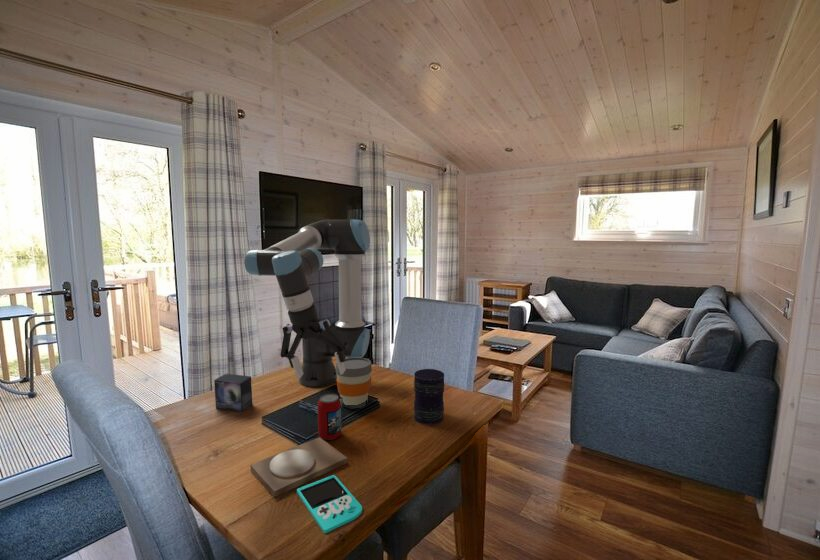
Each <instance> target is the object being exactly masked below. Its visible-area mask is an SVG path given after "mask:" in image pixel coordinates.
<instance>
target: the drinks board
mask: <svg viewBox="0 0 820 560" xmlns="http://www.w3.org/2000/svg"><path fill="white" fill-rule="evenodd" d="M347 463H348V457H347V456H346V455H345V454H343V453H341V452H340V451H339V450H338V449H336V448H335V447H333V446H332V445H331V444H330V443H328V442H327V440H324V439H322V438H320V437H319V436H318V437H317V438H315V439H314V438H313V439H311V440H309V441H306V442H304V443H301V444H299V445H296V446H294V447H291V448H289V449H286V450H285V451H284V450H283V451H281V452H279V453H276V454H274V455H271V456H268V457H266V458H264V459H262V460H258V461H256V462H254V463H251V464H250V471H251V473H252V474H253V475H255V477H256V478H257V479H258V481H260V482H261V484H262V485H263V486H264V487H265V488H266V490H267V491H268V492H269V493H270V494H271V496H273V497H274V498H276V497H278V496H282V494H285V493H287V492H290V491H291V490H293V489H296V488H297V487H299V486H302V485H304V484H305V483H306V484H307V483H308V482H310V481H312V480H314V479H316V478H318V477H321V476H323V475H325V474H326V473H329V472H331V471H333V470H335V469H338V468H340V467H341V466H344V465H346V464H347Z"/></svg>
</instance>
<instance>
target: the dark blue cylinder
mask: <svg viewBox="0 0 820 560" xmlns="http://www.w3.org/2000/svg"><path fill="white" fill-rule="evenodd" d="M413 376H414V378H413V379H414V381H413V385H414V386H413V389H414V390H413V391H414V402H413V403H414V404H413V414H414V415H413V420H414V421H415V422H416V423H418V424H420V425H423V426H435V425H439V424H441V423H442V422H443V421H444V412H445V407H444V406H445V405H444V402H445V401H444V392H445V373H444V372H443V371H442V370H439V369H435V368H423V369H419V370H416V371H415V372H414V375H413Z"/></svg>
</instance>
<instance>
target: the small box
mask: <svg viewBox="0 0 820 560" xmlns="http://www.w3.org/2000/svg"><path fill="white" fill-rule="evenodd" d="M213 380H214V397H215V398H214V399H215V409H218V410H226V411H233V412H239V413H243V412H244V411H246V410H247V409H249V408H250V407H251V406H253V390H252V376H249V375H240V374H233V373H224V374H223V375H220V376H219V377H217V378H216V379H213Z"/></svg>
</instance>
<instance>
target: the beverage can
mask: <svg viewBox="0 0 820 560" xmlns="http://www.w3.org/2000/svg"><path fill="white" fill-rule="evenodd" d="M317 433H318V438H319V437H320V438H322V439H323V440H324V441H332V440H335V439H337V438H338V437H340V435H342V405H341V399H340V398H339V396H338V395H337V394H336V393H326V394H323V395H321V396H320V397H319V400H318V402H317Z"/></svg>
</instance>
